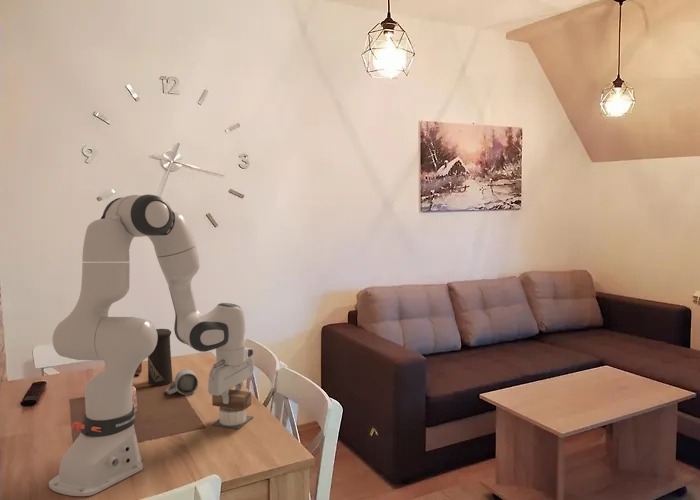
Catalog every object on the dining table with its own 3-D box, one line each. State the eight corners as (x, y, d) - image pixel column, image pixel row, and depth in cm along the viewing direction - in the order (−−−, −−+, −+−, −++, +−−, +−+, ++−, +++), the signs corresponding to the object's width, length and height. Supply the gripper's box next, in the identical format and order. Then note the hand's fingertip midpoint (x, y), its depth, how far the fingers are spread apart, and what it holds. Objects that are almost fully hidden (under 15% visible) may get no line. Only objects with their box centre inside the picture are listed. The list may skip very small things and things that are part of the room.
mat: (238, 429, 164) (238, 428, 164) (212, 425, 167) (212, 423, 167) (253, 417, 172) (253, 416, 172) (228, 414, 176) (228, 412, 175)
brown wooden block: (243, 410, 165) (243, 397, 165) (212, 405, 169) (212, 392, 169) (251, 404, 169) (251, 392, 169) (220, 400, 173) (220, 387, 173)
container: (146, 380, 208) (144, 328, 206) (171, 377, 211) (169, 326, 209) (149, 387, 200) (146, 333, 198) (174, 384, 204) (172, 331, 202)
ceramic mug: (195, 385, 202) (194, 365, 201) (199, 393, 194) (197, 372, 193) (165, 390, 197) (164, 369, 197) (167, 398, 190) (166, 376, 189)
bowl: (237, 427, 165) (237, 414, 164) (214, 423, 167) (214, 410, 167) (251, 416, 172) (250, 404, 172) (229, 413, 175) (228, 401, 174)
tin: (123, 368, 222) (122, 348, 221) (131, 367, 224) (130, 346, 223) (135, 378, 211) (134, 356, 210) (143, 376, 213) (142, 355, 212)
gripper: (220, 366, 157) (222, 413, 158) (256, 347, 176) (257, 389, 177) (202, 364, 159) (203, 410, 160) (239, 346, 178) (240, 387, 179)
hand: (232, 399), depth 169 cm, fingers closed on brown wooden block, 4 cm apart
